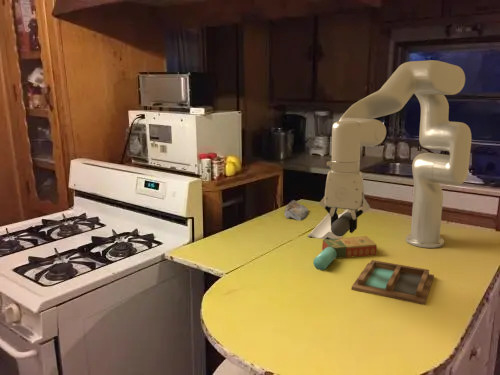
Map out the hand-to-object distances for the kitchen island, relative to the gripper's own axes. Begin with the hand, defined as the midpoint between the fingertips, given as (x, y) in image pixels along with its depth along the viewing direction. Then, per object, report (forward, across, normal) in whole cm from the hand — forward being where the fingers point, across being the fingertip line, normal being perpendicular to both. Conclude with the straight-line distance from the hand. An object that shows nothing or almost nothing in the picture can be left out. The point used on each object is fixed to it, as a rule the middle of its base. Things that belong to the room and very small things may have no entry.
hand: (343, 229), depth 123 cm
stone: (+16, -37, +53) cm, 67 cm away
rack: (+15, +14, +4) cm, 21 cm away
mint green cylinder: (+15, -8, +8) cm, 19 cm away
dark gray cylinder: (+1, 0, 0) cm, 1 cm away
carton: (+16, -4, +21) cm, 27 cm away
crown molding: (+16, -18, +45) cm, 51 cm away
